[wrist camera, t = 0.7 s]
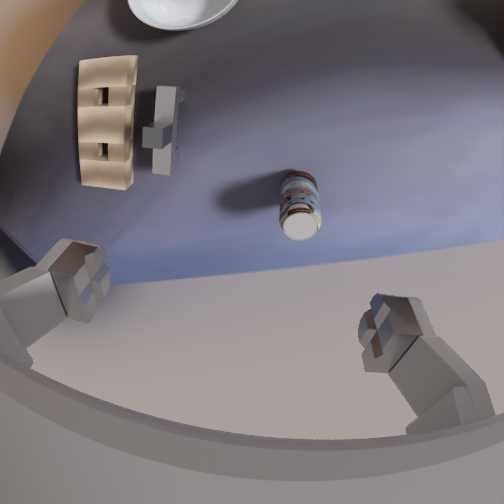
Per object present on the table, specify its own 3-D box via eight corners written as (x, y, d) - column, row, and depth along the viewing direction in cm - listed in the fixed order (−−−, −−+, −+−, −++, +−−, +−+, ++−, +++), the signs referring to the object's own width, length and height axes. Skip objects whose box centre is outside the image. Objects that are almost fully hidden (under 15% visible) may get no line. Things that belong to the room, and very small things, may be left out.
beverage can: (316, 168, 46) (326, 198, 36) (315, 207, 50) (323, 245, 41) (278, 168, 47) (278, 198, 37) (280, 207, 51) (279, 245, 41)
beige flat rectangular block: (90, 59, 36) (79, 60, 33) (138, 55, 36) (128, 55, 33) (91, 177, 50) (82, 185, 47) (133, 182, 50) (125, 190, 47)
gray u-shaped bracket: (171, 83, 39) (145, 88, 31) (188, 84, 39) (166, 88, 31) (165, 161, 48) (142, 183, 39) (181, 163, 48) (160, 185, 39)
